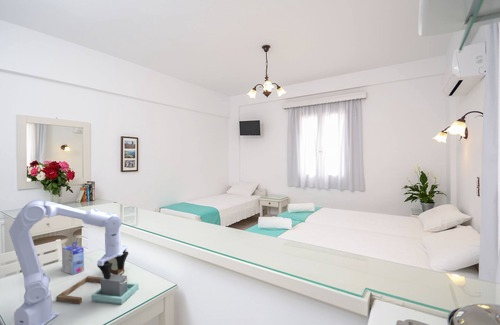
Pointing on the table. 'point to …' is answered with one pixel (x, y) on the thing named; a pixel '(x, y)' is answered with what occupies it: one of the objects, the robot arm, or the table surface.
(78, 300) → the frame
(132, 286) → the tray
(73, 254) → the ink cartridge box
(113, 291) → the gray box with handle
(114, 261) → the food container
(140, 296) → the table surface
